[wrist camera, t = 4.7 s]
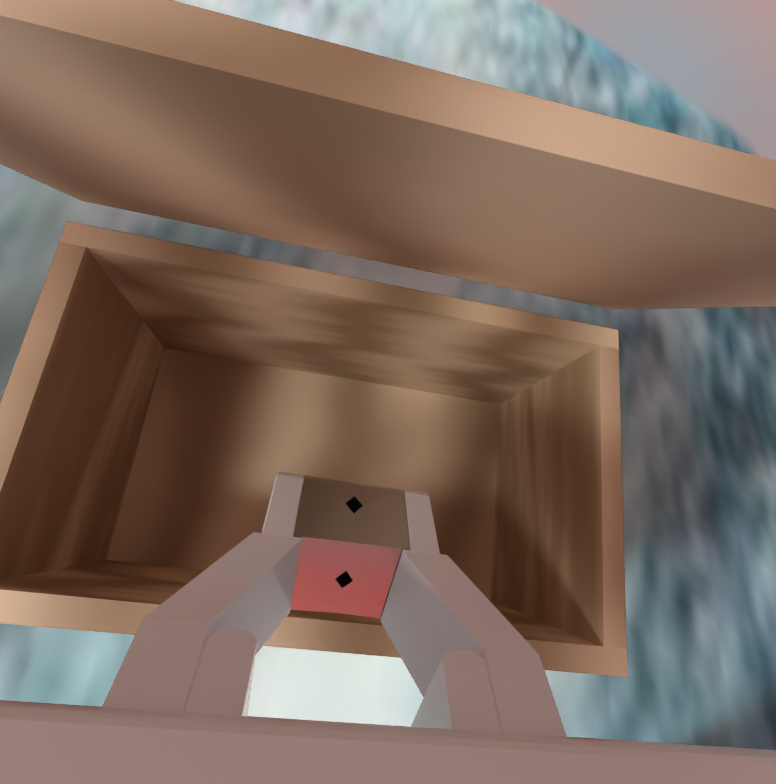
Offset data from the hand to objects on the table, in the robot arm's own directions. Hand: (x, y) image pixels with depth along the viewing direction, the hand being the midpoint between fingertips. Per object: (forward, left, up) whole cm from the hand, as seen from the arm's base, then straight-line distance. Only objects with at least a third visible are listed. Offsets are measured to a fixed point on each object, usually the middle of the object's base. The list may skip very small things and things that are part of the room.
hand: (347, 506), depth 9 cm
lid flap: (0, +6, 0) cm, 6 cm away
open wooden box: (0, +2, -15) cm, 16 cm away
